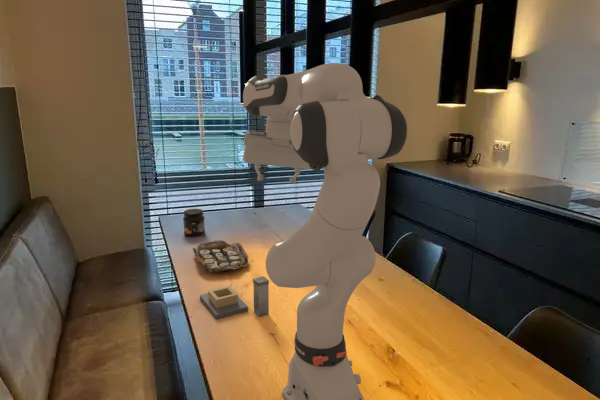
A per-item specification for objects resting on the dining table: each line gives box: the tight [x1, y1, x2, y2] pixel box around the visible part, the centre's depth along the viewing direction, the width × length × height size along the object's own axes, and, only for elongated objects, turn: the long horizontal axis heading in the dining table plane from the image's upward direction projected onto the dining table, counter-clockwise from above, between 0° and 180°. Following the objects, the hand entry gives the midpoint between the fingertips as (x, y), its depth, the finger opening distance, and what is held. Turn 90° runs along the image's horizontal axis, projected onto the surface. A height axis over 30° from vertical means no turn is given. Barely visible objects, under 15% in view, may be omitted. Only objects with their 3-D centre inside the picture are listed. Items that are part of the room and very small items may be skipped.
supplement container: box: [182, 208, 206, 238], centre depth 218 cm, size 10×10×12 cm
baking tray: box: [192, 239, 250, 274], centre depth 183 cm, size 30×22×5 cm
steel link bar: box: [252, 276, 270, 318], centre depth 141 cm, size 4×4×12 cm
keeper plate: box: [199, 285, 249, 320], centre depth 147 cm, size 16×11×4 cm
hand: (276, 182), depth 125 cm, fingers open, 8 cm apart
